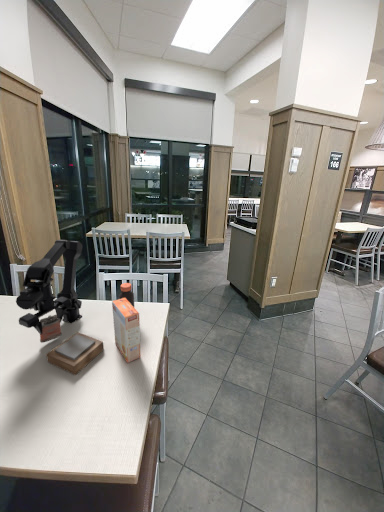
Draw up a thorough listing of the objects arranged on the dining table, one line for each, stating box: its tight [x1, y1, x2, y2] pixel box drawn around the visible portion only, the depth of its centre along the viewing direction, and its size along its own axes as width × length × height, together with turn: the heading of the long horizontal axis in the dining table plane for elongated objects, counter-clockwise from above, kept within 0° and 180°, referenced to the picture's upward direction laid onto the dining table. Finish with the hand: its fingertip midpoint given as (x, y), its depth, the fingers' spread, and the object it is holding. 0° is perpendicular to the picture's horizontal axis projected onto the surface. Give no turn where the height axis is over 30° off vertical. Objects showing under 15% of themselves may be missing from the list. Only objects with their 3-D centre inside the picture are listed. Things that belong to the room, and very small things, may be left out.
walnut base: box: [46, 331, 105, 376], centre depth 88 cm, size 14×14×5 cm
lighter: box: [39, 314, 63, 344], centre depth 93 cm, size 8×3×10 cm, turn 142°
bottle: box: [118, 282, 135, 308], centre depth 108 cm, size 7×7×20 cm
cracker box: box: [111, 298, 141, 364], centre depth 89 cm, size 14×6×21 cm, turn 37°
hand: (50, 328), depth 93 cm, fingers closed on lighter, 8 cm apart
